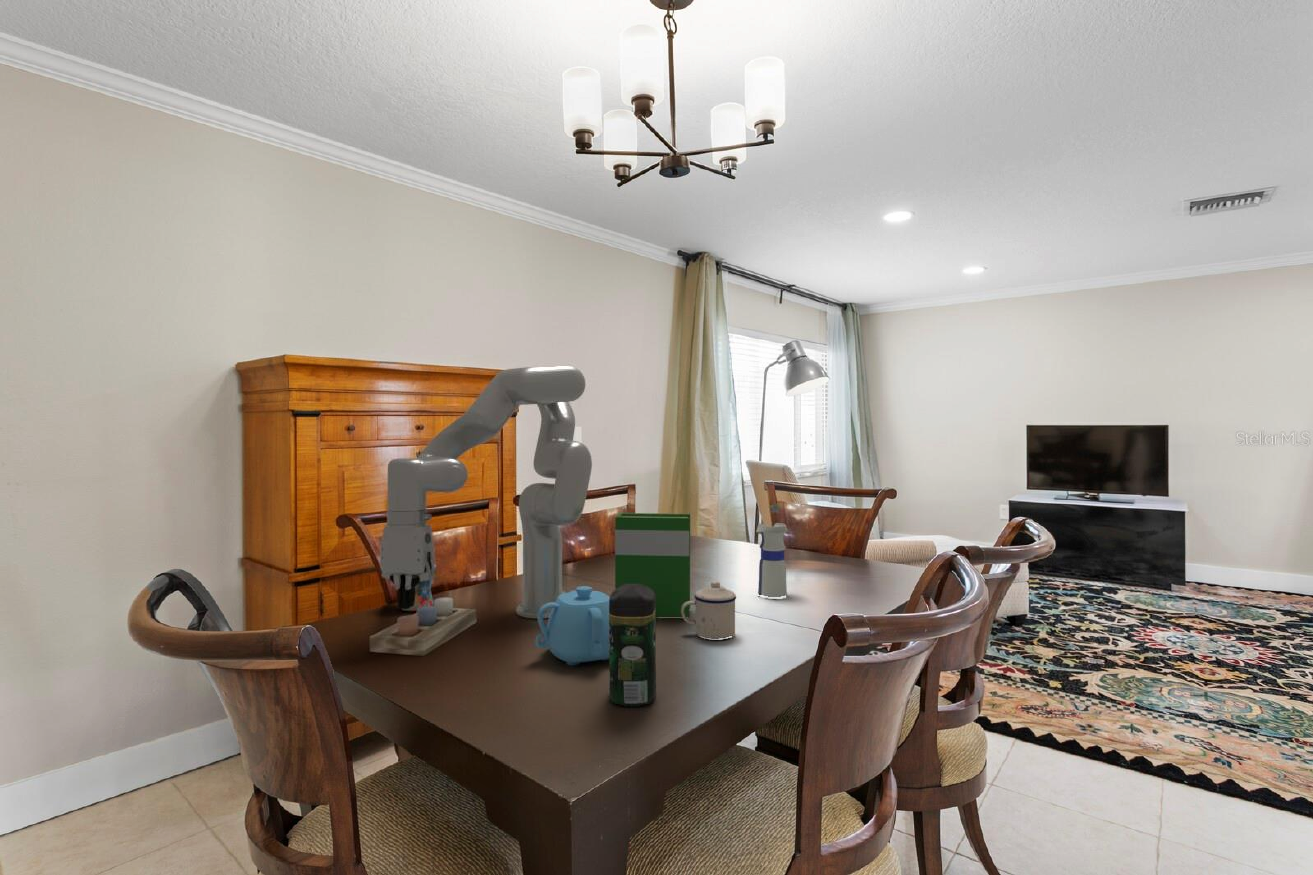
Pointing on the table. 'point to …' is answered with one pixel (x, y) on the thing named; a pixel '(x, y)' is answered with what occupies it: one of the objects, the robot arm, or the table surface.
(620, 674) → the coffee jar
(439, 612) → the button ivory
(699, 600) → the teacup with lid
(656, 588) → the hardback book
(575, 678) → the table surface
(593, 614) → the decorative pot
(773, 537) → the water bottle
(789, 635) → the table surface
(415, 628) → the button terracotta
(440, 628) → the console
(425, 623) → the button slate
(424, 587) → the multicolour ceramic cup
